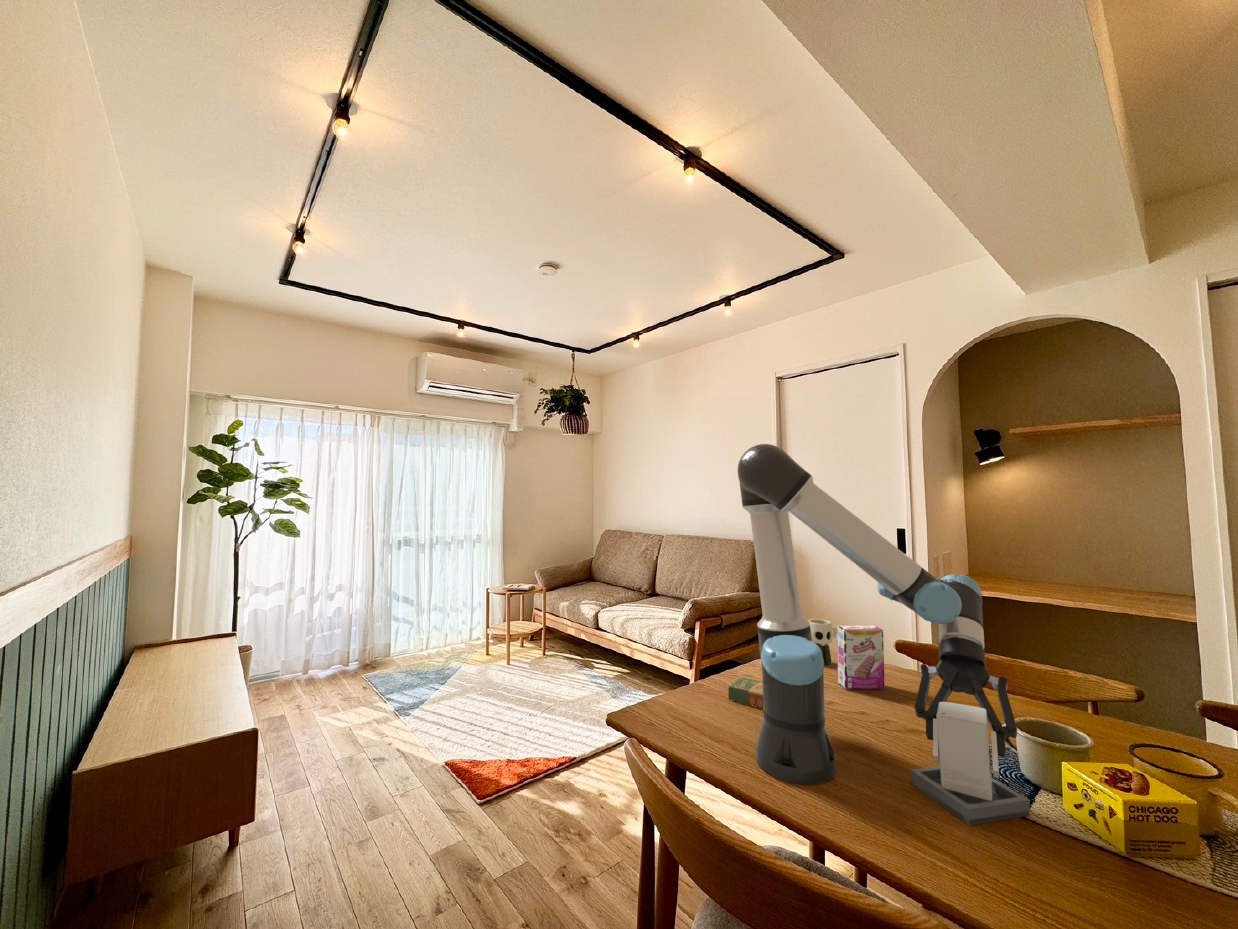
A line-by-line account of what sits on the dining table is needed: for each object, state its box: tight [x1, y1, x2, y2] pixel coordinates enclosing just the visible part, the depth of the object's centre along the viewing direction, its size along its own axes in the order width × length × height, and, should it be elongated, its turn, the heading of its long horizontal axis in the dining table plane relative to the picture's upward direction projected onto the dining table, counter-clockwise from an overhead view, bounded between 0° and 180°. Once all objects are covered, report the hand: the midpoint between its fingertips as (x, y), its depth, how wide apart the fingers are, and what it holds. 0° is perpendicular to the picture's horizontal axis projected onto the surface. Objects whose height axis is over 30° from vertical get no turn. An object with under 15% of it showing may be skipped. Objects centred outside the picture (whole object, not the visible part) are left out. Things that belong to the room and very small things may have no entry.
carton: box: [727, 676, 764, 710], centre depth 128 cm, size 8×16×4 cm, turn 51°
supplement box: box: [936, 701, 993, 801], centre depth 88 cm, size 7×7×13 cm
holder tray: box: [910, 765, 1031, 826], centre depth 87 cm, size 12×12×2 cm
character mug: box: [807, 618, 837, 665], centre depth 159 cm, size 11×7×13 cm, turn 93°
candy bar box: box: [836, 624, 885, 691], centre depth 139 cm, size 11×5×16 cm, turn 92°
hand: (965, 766), depth 85 cm, fingers open, 8 cm apart
